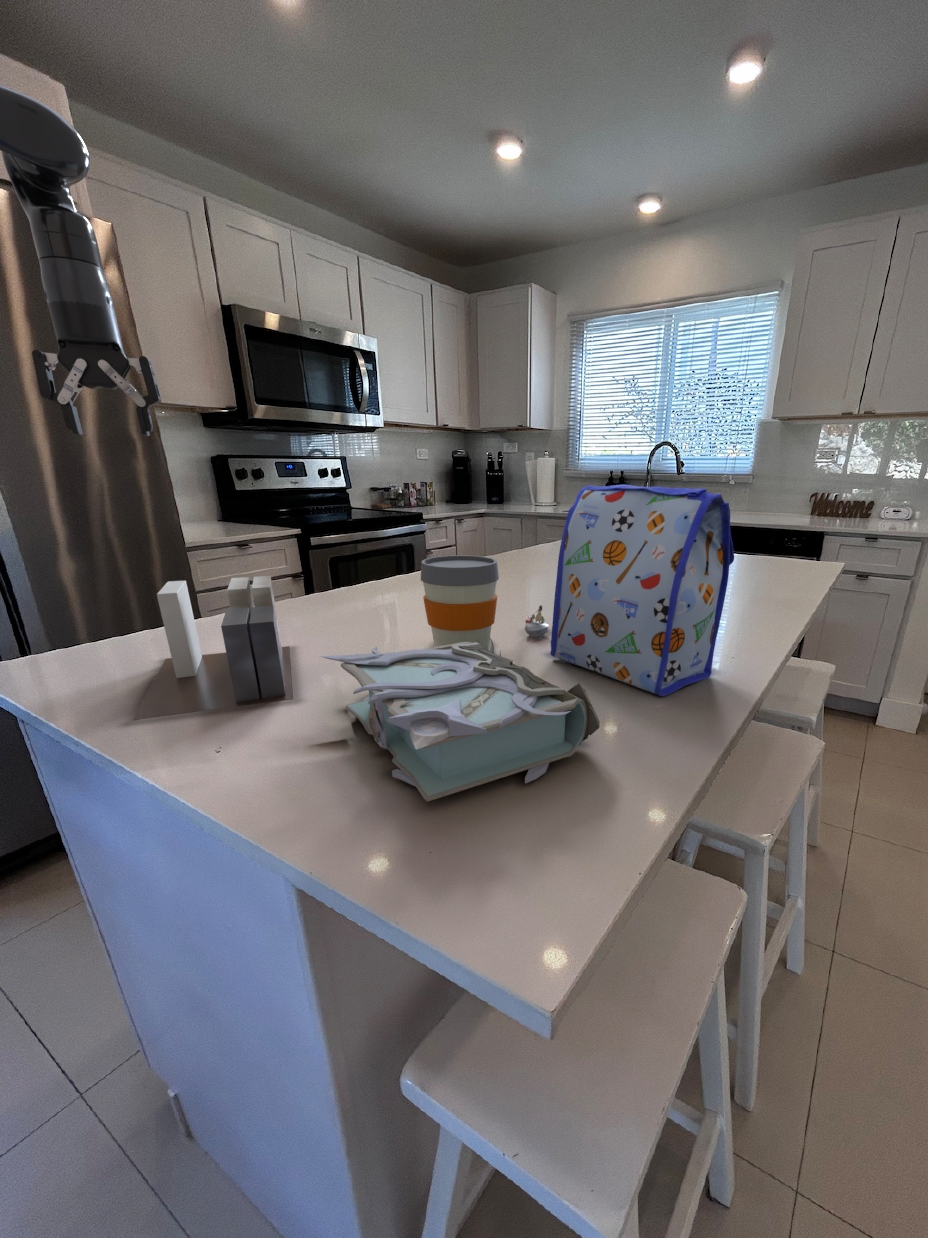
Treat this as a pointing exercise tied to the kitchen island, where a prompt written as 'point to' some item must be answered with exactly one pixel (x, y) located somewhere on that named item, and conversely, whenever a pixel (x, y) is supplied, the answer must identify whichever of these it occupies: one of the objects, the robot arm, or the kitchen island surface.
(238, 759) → the kitchen island surface
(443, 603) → the reusable coffee cup
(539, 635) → the figurine
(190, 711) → the shelf board
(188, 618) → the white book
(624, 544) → the lunch bag
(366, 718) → the ornate book
